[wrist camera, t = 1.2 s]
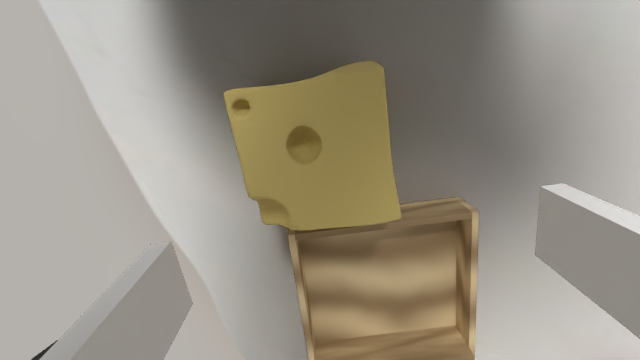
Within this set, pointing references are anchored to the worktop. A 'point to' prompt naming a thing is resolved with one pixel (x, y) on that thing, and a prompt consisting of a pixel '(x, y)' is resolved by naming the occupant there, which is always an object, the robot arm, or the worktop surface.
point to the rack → (391, 285)
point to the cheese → (318, 149)
